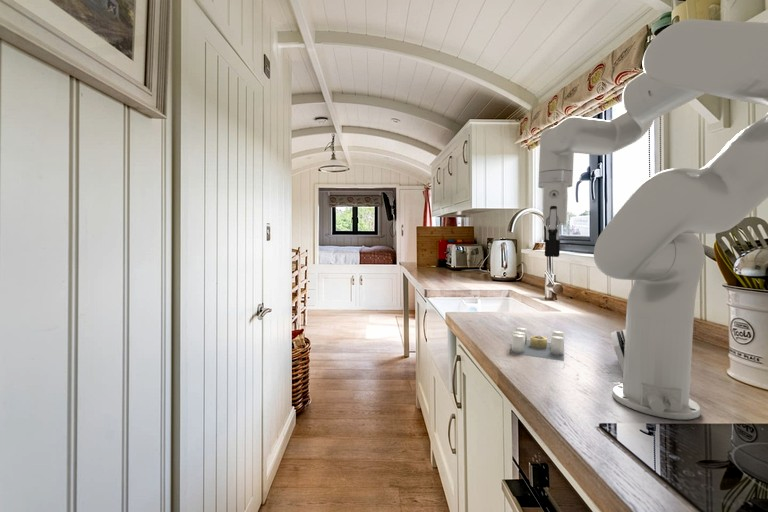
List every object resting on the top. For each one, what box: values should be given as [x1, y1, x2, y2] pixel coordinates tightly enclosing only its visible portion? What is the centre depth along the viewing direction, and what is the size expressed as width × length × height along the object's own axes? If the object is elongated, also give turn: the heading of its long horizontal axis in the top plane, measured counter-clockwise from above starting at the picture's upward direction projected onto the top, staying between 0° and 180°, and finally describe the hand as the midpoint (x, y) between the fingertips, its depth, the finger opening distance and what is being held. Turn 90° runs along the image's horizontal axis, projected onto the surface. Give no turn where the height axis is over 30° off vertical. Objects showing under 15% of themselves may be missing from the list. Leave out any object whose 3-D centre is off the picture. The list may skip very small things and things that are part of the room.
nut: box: [530, 335, 548, 348], centre depth 101 cm, size 5×4×2 cm
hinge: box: [610, 329, 626, 373], centre depth 84 cm, size 17×5×10 cm, turn 149°
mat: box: [509, 339, 565, 362], centre depth 99 cm, size 16×12×1 cm
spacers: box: [511, 327, 565, 355], centre depth 98 cm, size 13×12×4 cm
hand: (552, 256), depth 91 cm, fingers closed
